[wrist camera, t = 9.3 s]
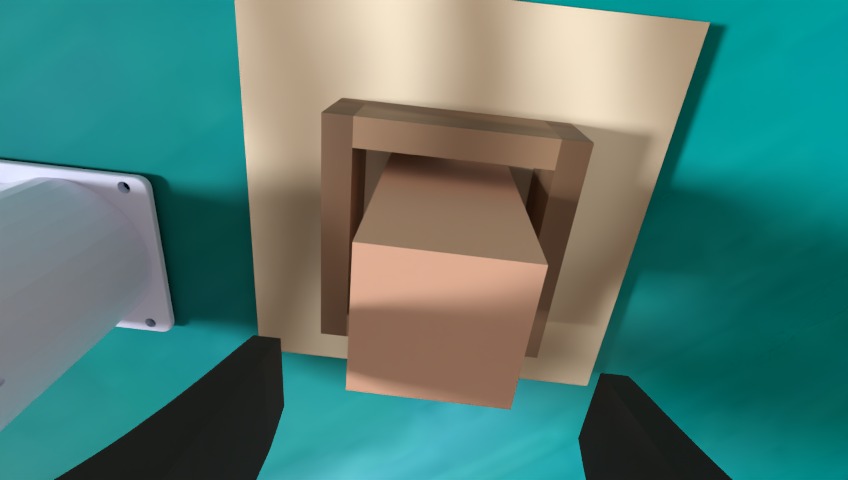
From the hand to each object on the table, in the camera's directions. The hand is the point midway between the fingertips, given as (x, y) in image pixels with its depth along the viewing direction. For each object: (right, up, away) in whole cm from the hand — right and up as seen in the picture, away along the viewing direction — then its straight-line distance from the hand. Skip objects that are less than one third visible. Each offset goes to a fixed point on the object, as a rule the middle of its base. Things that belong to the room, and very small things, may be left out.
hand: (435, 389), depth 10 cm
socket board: (+1, +5, +9) cm, 10 cm away
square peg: (+1, +5, +8) cm, 9 cm away
